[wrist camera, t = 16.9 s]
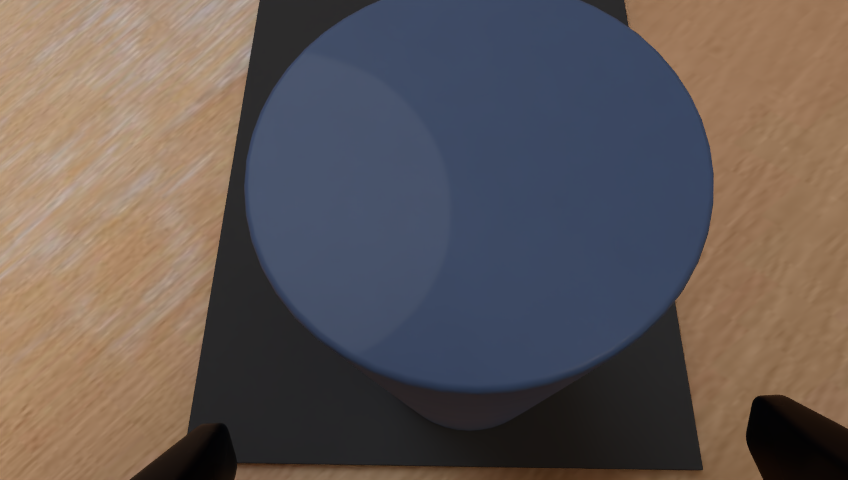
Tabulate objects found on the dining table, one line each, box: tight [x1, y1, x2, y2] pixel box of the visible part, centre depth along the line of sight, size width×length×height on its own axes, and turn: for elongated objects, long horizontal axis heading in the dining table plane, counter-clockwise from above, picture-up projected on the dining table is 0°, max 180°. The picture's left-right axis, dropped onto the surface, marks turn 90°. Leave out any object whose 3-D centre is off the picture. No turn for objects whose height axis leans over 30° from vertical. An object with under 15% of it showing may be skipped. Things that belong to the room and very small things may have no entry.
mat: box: [187, 0, 703, 470], centre depth 20 cm, size 22×16×1 cm
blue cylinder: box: [244, 0, 713, 431], centre depth 12 cm, size 6×6×12 cm
